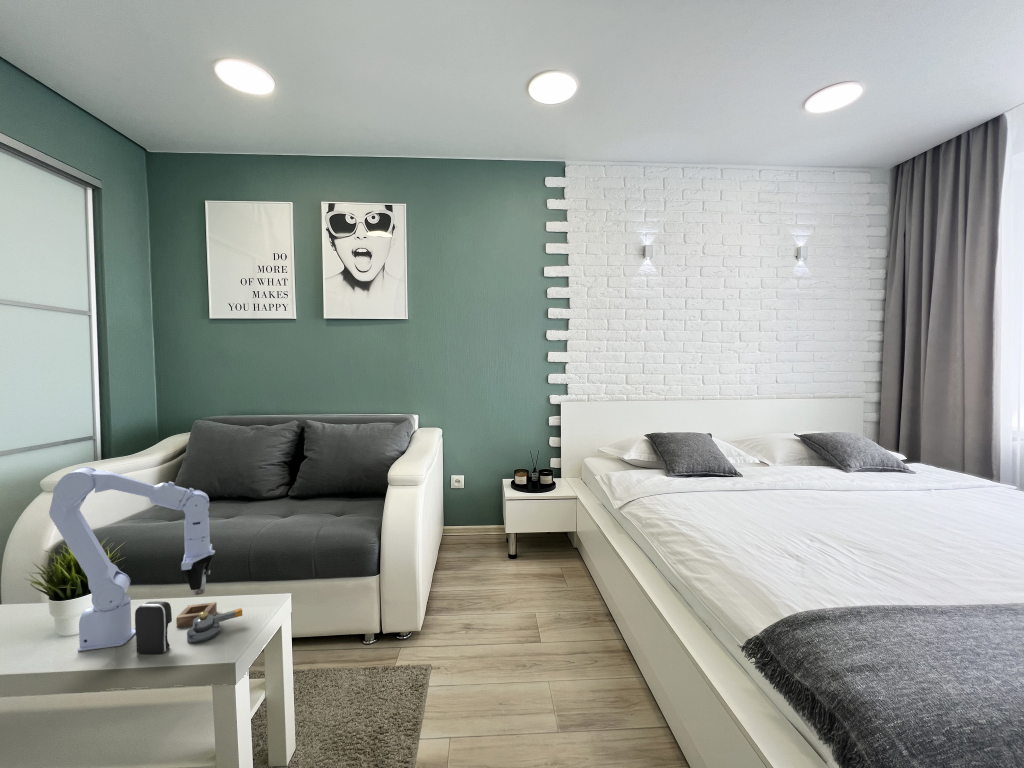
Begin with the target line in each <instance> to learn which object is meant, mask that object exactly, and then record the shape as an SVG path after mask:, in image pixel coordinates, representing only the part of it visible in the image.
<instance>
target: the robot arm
mask: <svg viewBox="0 0 1024 768" xmlns="http://www.w3.org/2000/svg"><path fill="white" fill-rule="evenodd" d="M93 490H94V493H95V494H97V493H101V492H106V491H110V490H113V491H118V492H122V493H123V492H124V493H128V494H131V495H135V496H136V495H137V496H141V497H145V498H147V499H149V500H150V503H151V504H152V505H155V506H159V507H164V508H168V509H171V510H176V511H183V512H184V519H185V520H184V521H183V525H184V527H183V529H184V533H183V535H184V555H183V560H182V562H181V563H180V570H181V571H182V572H183V574H184V576H185V577H186V579H187V582H188V585H189V588H190V591H193V590H197V589H200V588H201V584H202V576H203V571H204V569H206V570H210V567H211V564H212V562H213V561H214V558H215V556H214V554H215V553H216V550H213V543H211V536H210V535H211V534H210V533H211V531H210V529H211V528H210V517H209V515H210V512H209V508H210V505H211V504H210V498H209V495H208V493H206V492H204V491H202V490H200V489H194V488H192V487H189V489H188V488H186V487H182V486H178V485H175V482H172V481H168V483H167V482H165V481H164V482H160V483H158V484H152V483H148V482H145V481H141V480H140V479H136V478H132V477H130V476H129V477H128V476H126V475H123V474H119V473H116V472H113V471H110V470H105V469H100V468H98V469H95V468H93V467H90V466H82V467H77V468H76V469H73V470H72V471H71V472H68V473H66V474H64V475H63V476H62V477H61V478H60V479H59V480H58V481H57V483H56V484H55V486H54V487H53V489H52V498H51V502H50V503H51V504H50V508H49V511H48V515H49V517H50V519H51V520H52V522H53V524H54V525H55V526H56V529H57V530H58V531H59V534H60V535H61V537H62V538H63V540H64V542H65V544H66V545H67V546H68V548H69V550H70V551H71V553H72V555H73V556H74V558H75V560H76V561H77V563H78V564H79V567H80V568H81V569H82V571H83V572H84V574H85V576H86V577H87V584H88V589H89V590H90V592H91V604H92V606H89V607H87V608H85V609H84V610H83V611H82V613H81V615H80V618H79V622H78V631H79V632H78V633H79V634H78V636H79V637H78V638H79V639H78V641H79V648H77V651H78V652H82V651H90V650H96V649H104V648H105V649H106V648H111V647H119V646H123V645H125V643H127V641H129V640H130V639H131V638H132V637H133V636H134V635H136V631H135V627H133V628H132V608H131V607H132V606H131V605H132V604H131V603H132V601H131V600H132V599H131V597H130V596H129V595H128V594H127V590H129V588H130V586H131V578H130V577H129V575H128V574H127V573H124V572H123V571H121V569H119V567H118V566H117V565H116V564H114V563H113V562H112V561H111V559H110V558H109V556H108V555H107V553H106V551H105V549H104V548H103V547H102V545H101V544H100V542H99V539H98V538H97V537H96V535H95V533H94V532H93V530H92V529H91V526H90V525H89V523H88V521H87V520H86V518H85V517H84V515H83V514H82V511H81V507H82V505H83V504H84V502H85V501H86V498H87V497H88V495H89V494H91V492H93ZM207 579H208V575H206V581H207Z"/></svg>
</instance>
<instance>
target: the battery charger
mask: <svg viewBox="0 0 1024 768" xmlns="http://www.w3.org/2000/svg"><path fill="white" fill-rule="evenodd" d="M172 615H173V614H172V607H171V604H170V603H169V602H167V601H158V600H157V601H148V602H145V603H144V604H141V605H139V606H138V607H137V608H136V609H135V611H134V626H135V627H134V628H135V631H136V633H135V640H136V641H135V643H136V646H135V647H136V653H137V654H140V655H141V654H142V655H143V654H144V655H154V654H155V655H156V654H157V655H159V654H163V653H165V652H166V651H168V650H169V649H170V643H169V640H168V627H169V624H170V623H172V620H173V619H172V618H173V616H172Z"/></svg>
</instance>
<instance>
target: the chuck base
mask: <svg viewBox="0 0 1024 768" xmlns="http://www.w3.org/2000/svg"><path fill="white" fill-rule="evenodd" d="M207 617H208V611H202V612H200V613H199V619H205V618H207ZM220 634H221V622H219V623H216V624H214V626H213V627H212V628H210V629H208V630H205V631H201V632H195V631H193V626H192V627H190V628H189V629H188V630H187V631H186V642H187V643H188V644H191V645H199V644H203V643H207V642H209V641H212V640H214V639H216V638H217V637H219V635H220Z"/></svg>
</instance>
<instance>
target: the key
mask: <svg viewBox="0 0 1024 768" xmlns="http://www.w3.org/2000/svg"><path fill="white" fill-rule="evenodd" d="M210 574H211V569H209V570H206V569H204V571H203V576H202V584H201V588H200V589H197V590H192V594H193V596H199V595H203V594H205V593H206V584H207V580H206V575H209V576H210Z"/></svg>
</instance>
